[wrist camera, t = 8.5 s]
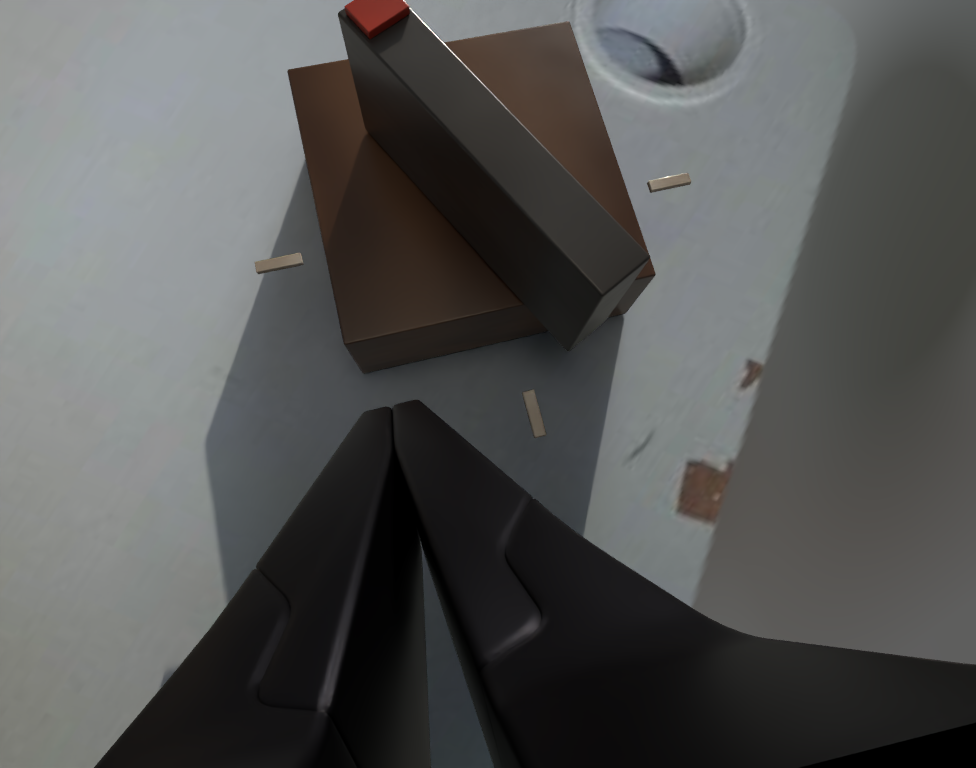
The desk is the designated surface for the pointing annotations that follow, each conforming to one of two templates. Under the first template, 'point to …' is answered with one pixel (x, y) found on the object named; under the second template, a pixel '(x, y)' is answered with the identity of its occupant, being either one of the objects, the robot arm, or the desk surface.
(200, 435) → the desk surface
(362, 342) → the panel
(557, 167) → the red-tipped grey slab
